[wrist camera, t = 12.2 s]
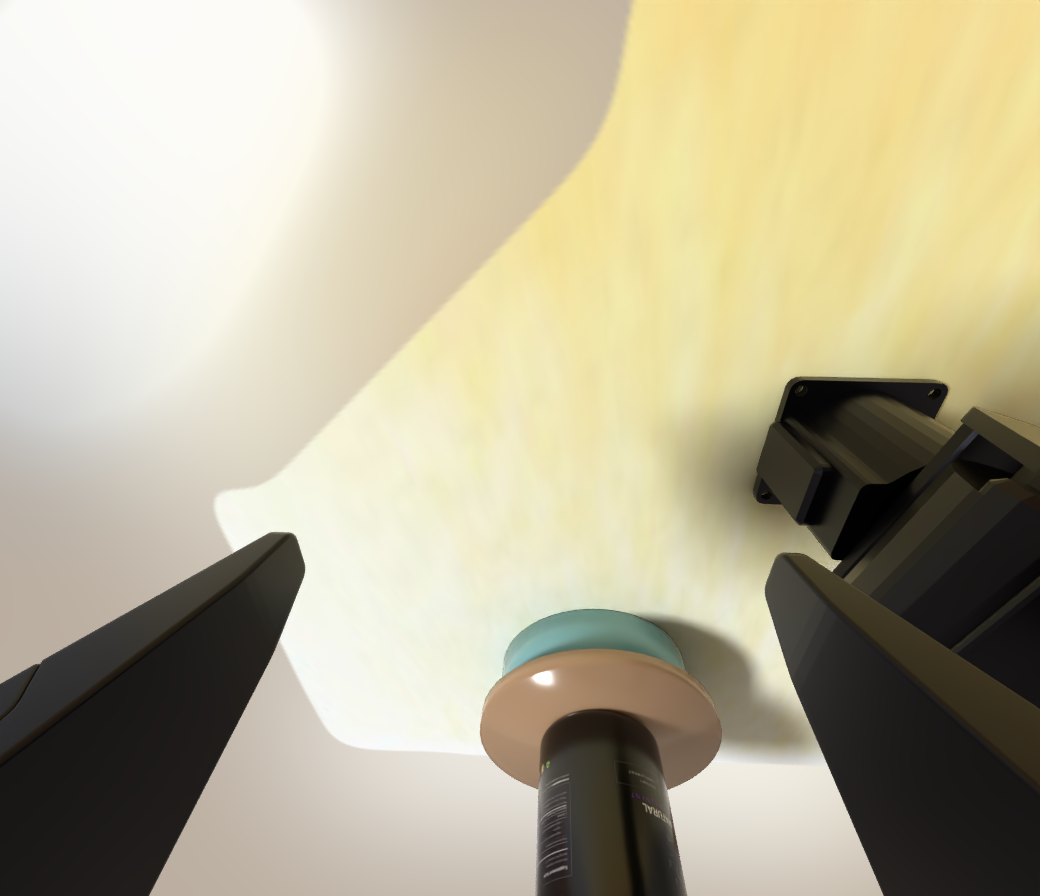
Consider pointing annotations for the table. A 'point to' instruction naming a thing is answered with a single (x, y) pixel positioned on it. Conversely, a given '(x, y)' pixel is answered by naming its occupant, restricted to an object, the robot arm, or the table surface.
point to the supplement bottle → (604, 811)
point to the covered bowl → (598, 691)
